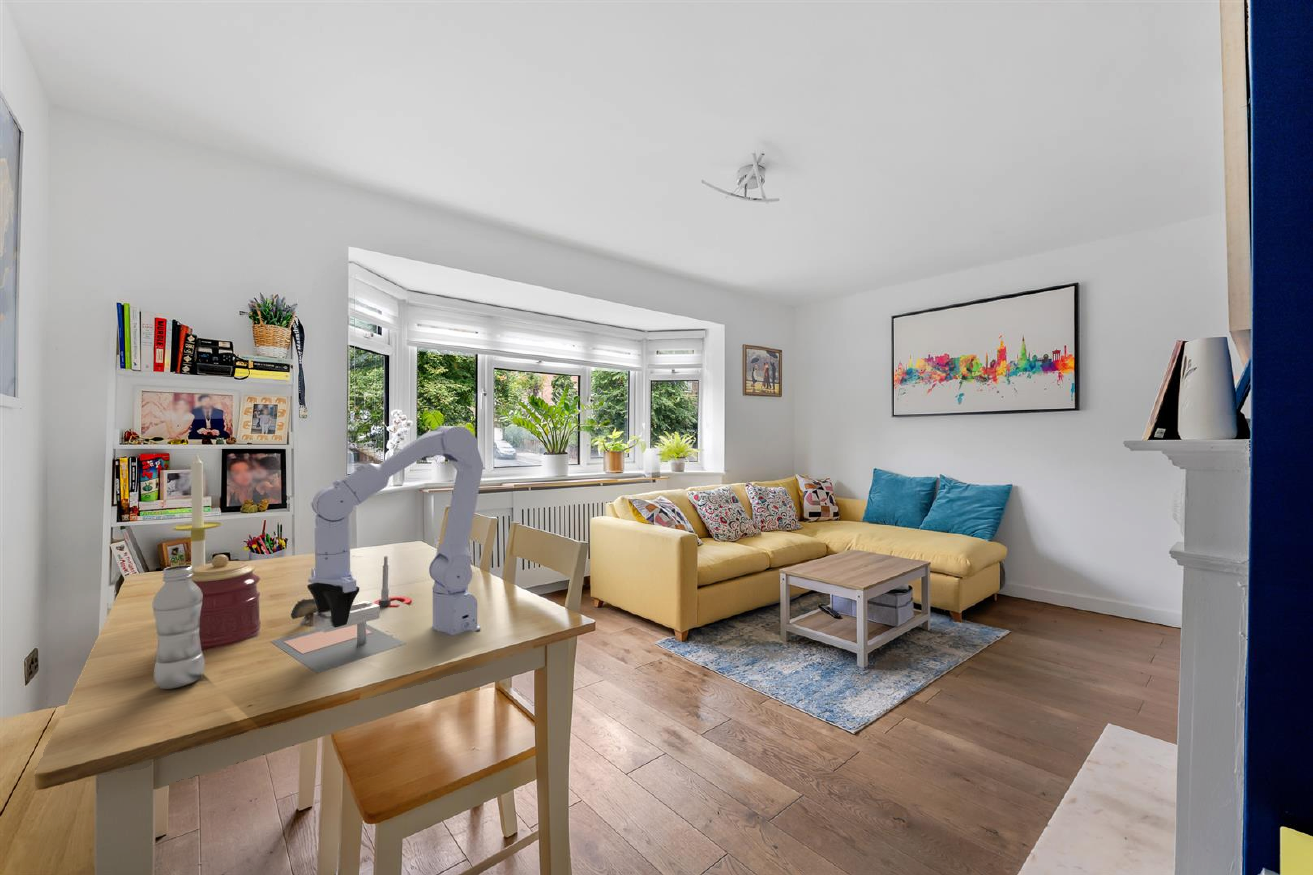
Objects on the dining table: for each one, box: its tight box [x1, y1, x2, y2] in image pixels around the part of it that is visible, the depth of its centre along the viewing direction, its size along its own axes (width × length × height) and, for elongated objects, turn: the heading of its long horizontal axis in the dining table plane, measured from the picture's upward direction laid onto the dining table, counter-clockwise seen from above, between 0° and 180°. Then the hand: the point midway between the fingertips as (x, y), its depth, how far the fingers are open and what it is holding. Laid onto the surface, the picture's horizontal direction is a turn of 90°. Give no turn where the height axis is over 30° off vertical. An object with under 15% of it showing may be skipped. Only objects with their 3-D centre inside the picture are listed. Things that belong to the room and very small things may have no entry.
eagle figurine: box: [290, 598, 318, 627], centre depth 118 cm, size 8×7×9 cm
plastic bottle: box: [151, 564, 206, 690], centre depth 91 cm, size 6×7×20 cm
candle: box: [173, 452, 222, 570], centre depth 125 cm, size 10×10×38 cm
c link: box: [312, 600, 381, 633], centre depth 104 cm, size 5×10×2 cm, turn 143°
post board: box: [270, 622, 407, 674], centre depth 107 cm, size 22×16×5 cm
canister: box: [191, 554, 262, 652], centre depth 109 cm, size 13×13×18 cm
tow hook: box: [372, 555, 413, 609], centre depth 132 cm, size 8×13×9 cm
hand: (333, 622), depth 102 cm, fingers closed on c link, 5 cm apart
